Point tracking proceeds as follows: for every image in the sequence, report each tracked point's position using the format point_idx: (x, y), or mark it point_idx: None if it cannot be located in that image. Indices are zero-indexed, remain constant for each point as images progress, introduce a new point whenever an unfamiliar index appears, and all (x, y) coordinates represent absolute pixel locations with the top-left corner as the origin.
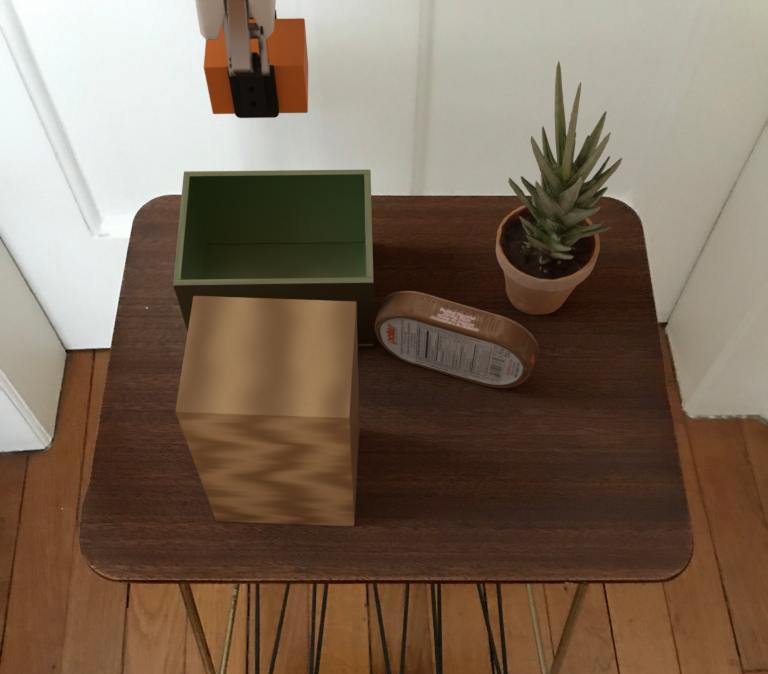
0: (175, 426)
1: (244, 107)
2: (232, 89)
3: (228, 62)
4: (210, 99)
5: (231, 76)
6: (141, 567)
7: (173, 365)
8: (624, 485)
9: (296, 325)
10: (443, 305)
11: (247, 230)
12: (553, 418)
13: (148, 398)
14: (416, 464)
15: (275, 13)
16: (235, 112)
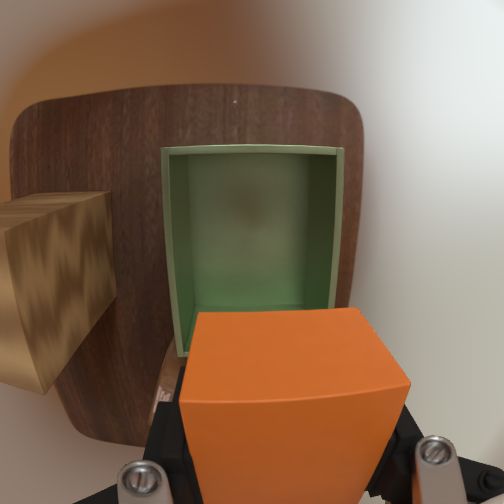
0: (107, 146)
1: (157, 409)
2: (170, 415)
3: (119, 499)
4: (193, 334)
5: (129, 465)
6: (12, 147)
7: (167, 134)
8: (112, 427)
9: (3, 341)
10: (172, 396)
11: (313, 201)
12: (147, 407)
13: (133, 117)
14: (96, 331)
15: (373, 495)
16: (180, 370)
